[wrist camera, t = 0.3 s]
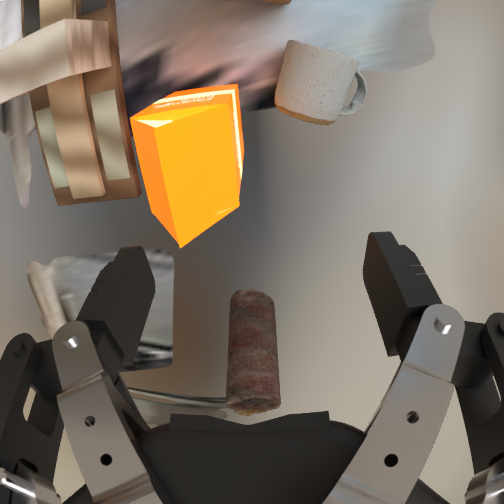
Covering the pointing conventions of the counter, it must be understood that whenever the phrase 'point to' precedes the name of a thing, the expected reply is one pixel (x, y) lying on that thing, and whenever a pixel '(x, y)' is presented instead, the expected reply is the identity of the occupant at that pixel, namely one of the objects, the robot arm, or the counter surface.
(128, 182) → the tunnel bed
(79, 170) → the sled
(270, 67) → the counter surface
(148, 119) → the orange juice
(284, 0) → the wooden block
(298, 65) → the ceramic mug
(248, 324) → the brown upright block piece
